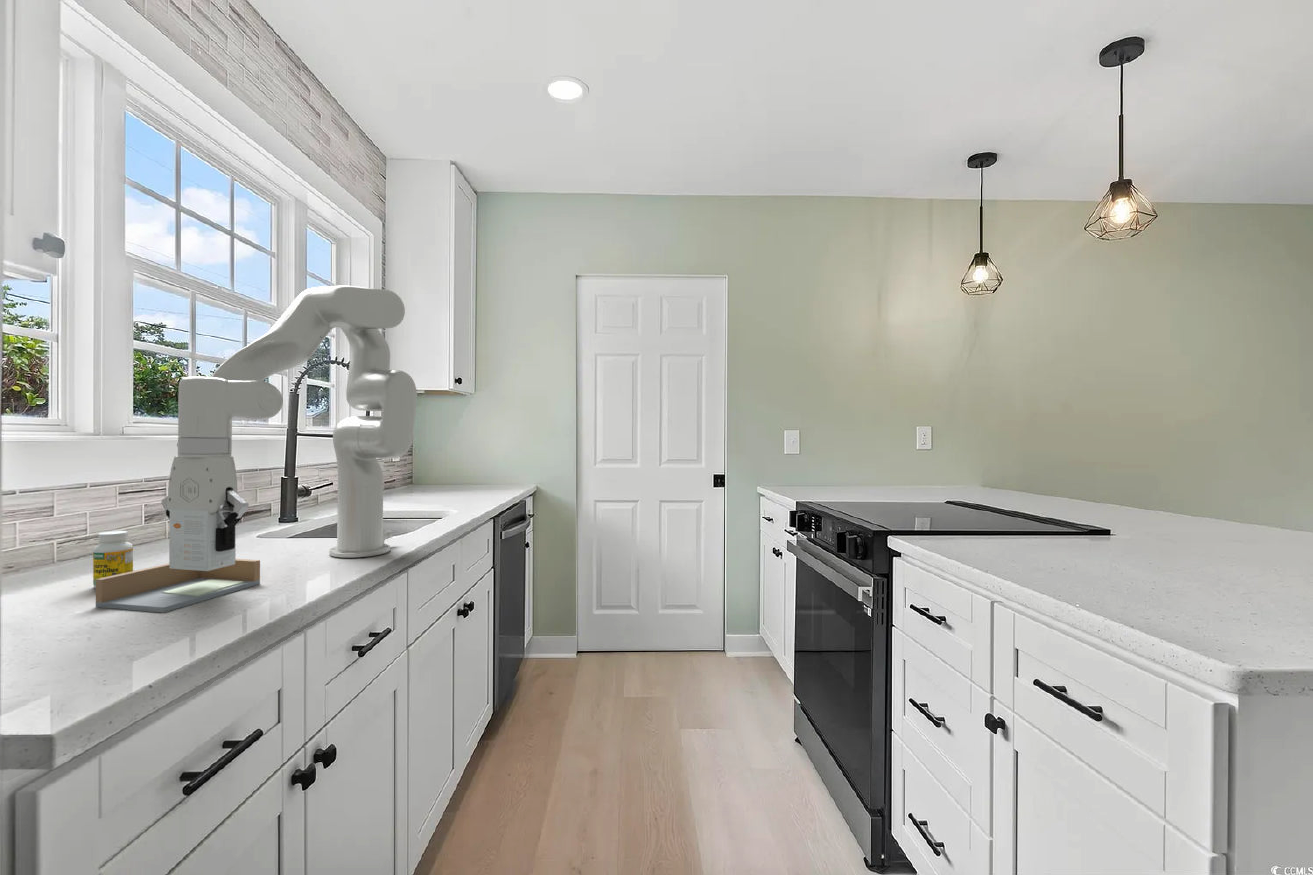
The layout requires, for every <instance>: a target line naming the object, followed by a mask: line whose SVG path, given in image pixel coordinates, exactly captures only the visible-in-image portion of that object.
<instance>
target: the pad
mask: <svg viewBox="0 0 1313 875" xmlns="http://www.w3.org/2000/svg"><path fill="white" fill-rule="evenodd" d="M241 583H244V582H242V581H228V580H214V579H210V580H206V581H202V582H199V583H195V584H191V585H187V586H183V587H180V588H176V589H172V590H168V591H164V592H162V593H166V594H179V595H192V596H199V595H202V594H206V593H209V592H213V591H216V590H220V589H223V588H227V587H230V586H234V585H237V584H241Z"/></svg>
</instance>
